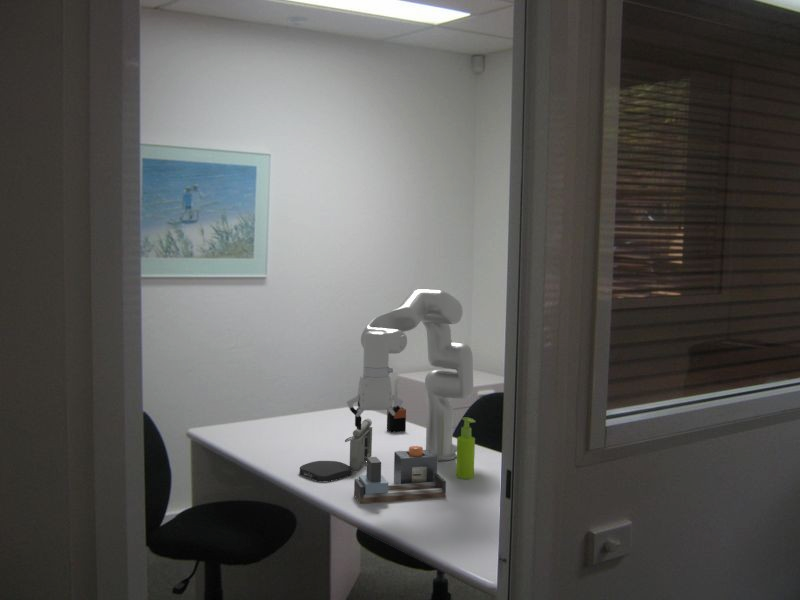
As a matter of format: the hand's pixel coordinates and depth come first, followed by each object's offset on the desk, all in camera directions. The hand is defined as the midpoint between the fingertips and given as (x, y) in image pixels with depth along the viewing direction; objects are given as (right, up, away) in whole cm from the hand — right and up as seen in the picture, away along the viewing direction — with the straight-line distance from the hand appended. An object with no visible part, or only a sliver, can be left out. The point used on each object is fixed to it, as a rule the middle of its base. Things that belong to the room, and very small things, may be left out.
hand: (374, 428), depth 244 cm
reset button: (+13, -13, +16) cm, 24 cm away
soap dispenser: (+30, -21, +25) cm, 44 cm away
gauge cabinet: (+13, -21, +16) cm, 29 cm away
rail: (+8, -22, +4) cm, 23 cm away
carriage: (0, -19, +2) cm, 19 cm away
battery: (+6, -15, +85) cm, 86 cm away
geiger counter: (-6, -18, +41) cm, 45 cm away
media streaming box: (-17, -20, +25) cm, 36 cm away
